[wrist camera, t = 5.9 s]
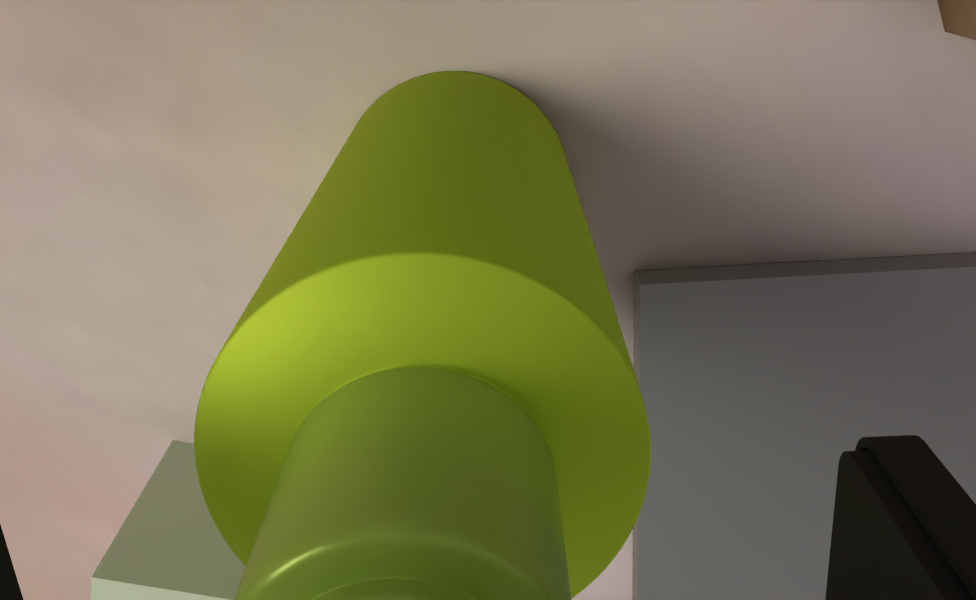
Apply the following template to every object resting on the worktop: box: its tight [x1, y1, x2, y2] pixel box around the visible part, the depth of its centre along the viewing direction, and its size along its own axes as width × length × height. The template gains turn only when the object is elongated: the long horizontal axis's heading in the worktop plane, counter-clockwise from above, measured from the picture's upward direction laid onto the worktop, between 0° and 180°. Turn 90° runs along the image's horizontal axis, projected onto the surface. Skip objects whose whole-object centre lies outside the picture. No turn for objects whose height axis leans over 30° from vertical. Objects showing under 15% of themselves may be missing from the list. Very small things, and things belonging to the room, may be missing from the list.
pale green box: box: [90, 441, 245, 600], centre depth 25 cm, size 4×4×6 cm
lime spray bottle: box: [194, 71, 651, 600], centre depth 15 cm, size 6×7×20 cm
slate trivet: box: [633, 252, 976, 600], centre depth 27 cm, size 14×14×1 cm
